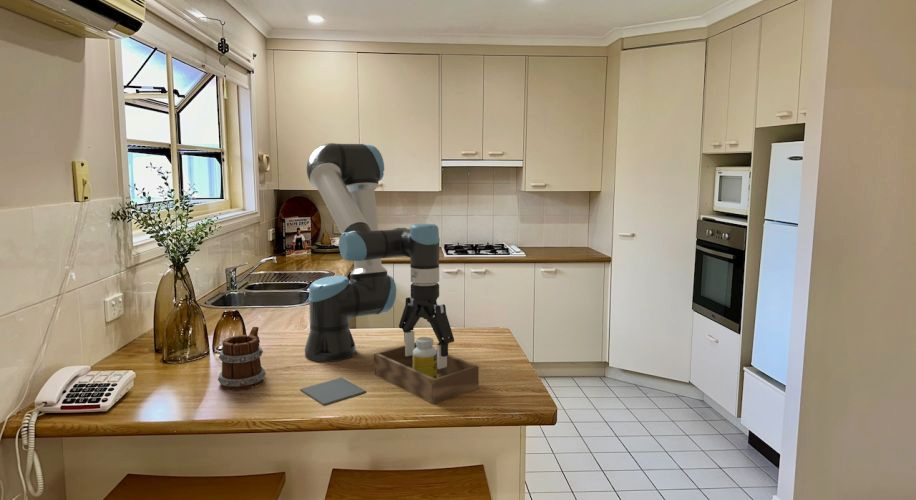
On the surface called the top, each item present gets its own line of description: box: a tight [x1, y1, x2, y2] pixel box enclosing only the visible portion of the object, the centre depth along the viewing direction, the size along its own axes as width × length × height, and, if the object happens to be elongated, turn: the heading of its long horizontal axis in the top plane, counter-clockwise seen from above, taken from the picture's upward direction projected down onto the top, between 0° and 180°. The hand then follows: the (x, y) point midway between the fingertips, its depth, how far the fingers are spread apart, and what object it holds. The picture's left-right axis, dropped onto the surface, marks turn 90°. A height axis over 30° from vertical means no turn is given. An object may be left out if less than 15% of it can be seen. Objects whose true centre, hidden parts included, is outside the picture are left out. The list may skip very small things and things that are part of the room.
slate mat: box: [299, 377, 367, 406], centre depth 141 cm, size 12×12×1 cm
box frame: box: [373, 342, 480, 405], centre depth 148 cm, size 26×15×6 cm, turn 42°
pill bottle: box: [412, 336, 438, 378], centre depth 148 cm, size 6×6×12 cm
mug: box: [217, 326, 267, 391], centre depth 147 cm, size 12×14×15 cm
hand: (425, 361), depth 147 cm, fingers open, 13 cm apart
